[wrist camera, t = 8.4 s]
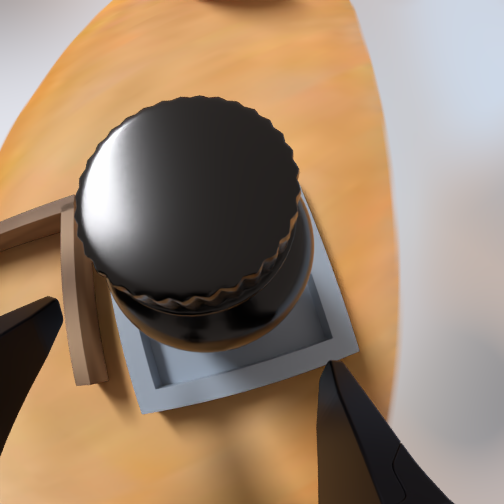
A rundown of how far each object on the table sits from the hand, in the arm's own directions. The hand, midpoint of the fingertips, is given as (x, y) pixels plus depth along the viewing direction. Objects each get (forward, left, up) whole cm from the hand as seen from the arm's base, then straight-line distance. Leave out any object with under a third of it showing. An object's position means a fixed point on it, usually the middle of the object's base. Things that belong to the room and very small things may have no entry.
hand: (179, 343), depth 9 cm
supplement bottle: (+3, -2, -8) cm, 9 cm away
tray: (+3, -2, -8) cm, 9 cm away
